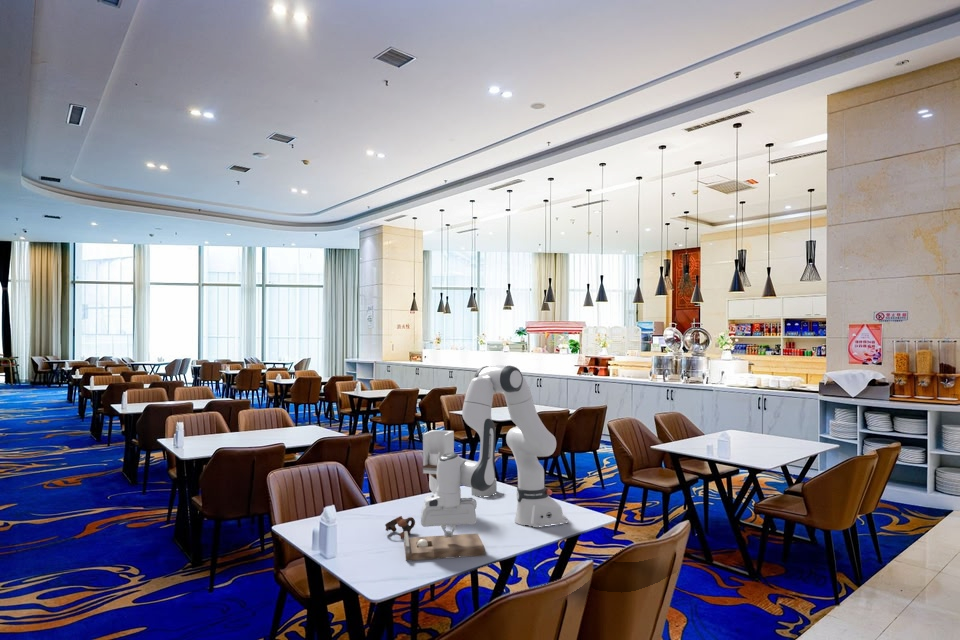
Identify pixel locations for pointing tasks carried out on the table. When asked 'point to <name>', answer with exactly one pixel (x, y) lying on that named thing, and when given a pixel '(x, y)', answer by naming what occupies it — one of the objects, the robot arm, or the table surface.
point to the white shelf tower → (435, 453)
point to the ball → (422, 543)
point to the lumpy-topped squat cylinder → (487, 492)
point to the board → (443, 546)
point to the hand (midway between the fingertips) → (448, 536)
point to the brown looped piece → (401, 525)
